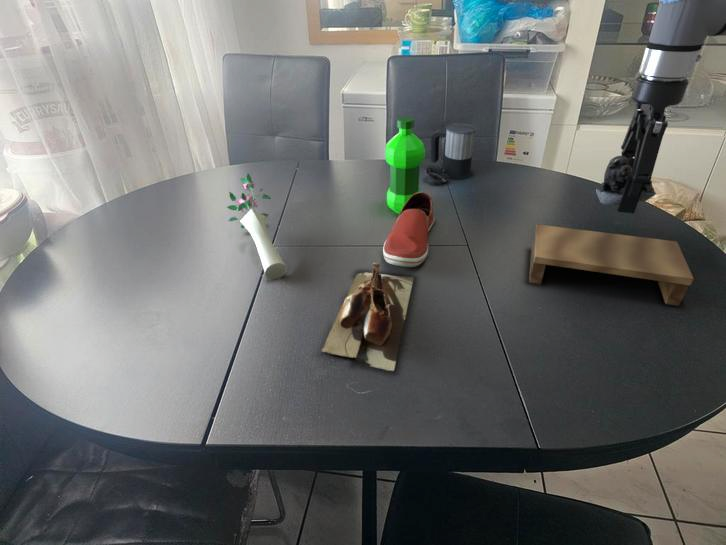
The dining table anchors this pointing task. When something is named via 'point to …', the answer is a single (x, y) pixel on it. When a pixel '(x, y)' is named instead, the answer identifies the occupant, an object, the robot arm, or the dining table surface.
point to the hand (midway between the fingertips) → (622, 199)
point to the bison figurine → (619, 182)
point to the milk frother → (452, 152)
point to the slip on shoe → (410, 232)
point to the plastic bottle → (403, 164)
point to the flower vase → (258, 231)
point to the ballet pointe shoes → (371, 318)
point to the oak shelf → (612, 257)
